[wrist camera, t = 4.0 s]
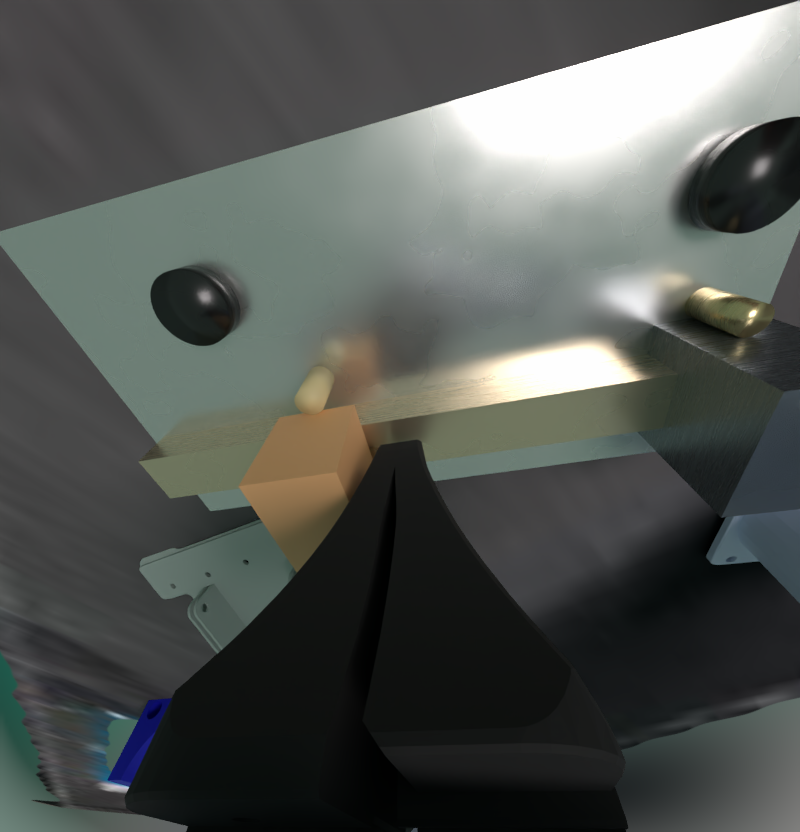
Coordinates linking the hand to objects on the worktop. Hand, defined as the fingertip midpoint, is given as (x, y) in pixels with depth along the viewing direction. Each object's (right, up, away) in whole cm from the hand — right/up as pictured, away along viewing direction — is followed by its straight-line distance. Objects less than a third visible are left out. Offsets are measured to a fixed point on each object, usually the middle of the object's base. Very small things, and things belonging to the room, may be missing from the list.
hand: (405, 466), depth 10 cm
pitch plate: (0, +4, +2) cm, 5 cm away
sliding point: (-2, +1, +2) cm, 3 cm away
